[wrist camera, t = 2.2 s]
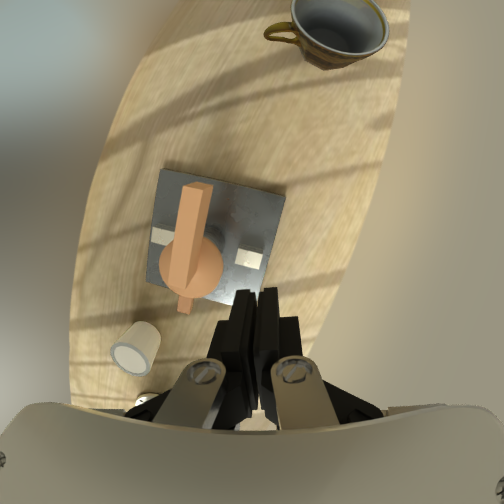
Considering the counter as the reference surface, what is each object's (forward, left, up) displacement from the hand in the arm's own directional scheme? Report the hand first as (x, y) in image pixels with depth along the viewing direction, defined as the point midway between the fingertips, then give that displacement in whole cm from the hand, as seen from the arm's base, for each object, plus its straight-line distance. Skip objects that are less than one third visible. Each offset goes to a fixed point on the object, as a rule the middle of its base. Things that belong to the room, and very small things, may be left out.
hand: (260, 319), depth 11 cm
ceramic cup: (+23, -1, -25) cm, 33 cm away
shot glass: (-24, +14, -25) cm, 37 cm away
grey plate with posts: (-5, +6, -24) cm, 26 cm away
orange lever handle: (-4, +6, -16) cm, 18 cm away
